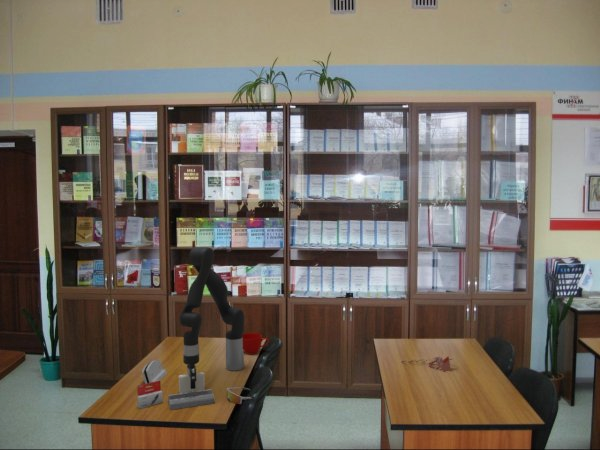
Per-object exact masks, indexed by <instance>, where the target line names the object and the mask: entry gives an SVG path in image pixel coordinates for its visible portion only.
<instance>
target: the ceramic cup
mask: <svg viewBox="0 0 600 450" xmlns="http://www.w3.org/2000/svg"><path fill="white" fill-rule="evenodd" d="M264 340H266V341H267V342H266V343H265V344H263V345H262V342H263V341H264ZM268 344H269V338H267V337H263V335H262V334H260V333H258V332H247V333H243V351H244V353H246V354H248V355H254V354H256V353H258V352H259V350H261V349H260V348H262V347H266V346H267V345H268Z"/></svg>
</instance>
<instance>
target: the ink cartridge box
mask: <svg viewBox="0 0 600 450" xmlns="http://www.w3.org/2000/svg"><path fill="white" fill-rule="evenodd" d="M149 385H150V386H149ZM161 385H162V384H161V380H160V381H156V382H152V383H148V384H145V383H144V384H140V385H137V387H136V389H137V390H136V391H137V392H136V393H137V395H136V396H137V397H136V398H137V400H136V401H137V402H136V403H137V404H136V406H137V408H138V409H143V408H145V407H151V406H154V405H157V404H161V403H164V402H163V401H164V398H163V397H164V396H163V391H162V388H161V387H162V386H161ZM147 386H148V387H147Z"/></svg>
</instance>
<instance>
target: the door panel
mask: <svg viewBox="0 0 600 450" xmlns="http://www.w3.org/2000/svg"><path fill="white" fill-rule="evenodd" d="M190 375H191V374H190ZM205 377H206V376H205V372H203V371H201V372H196V381H195V389H191V384H190V377H189V374H188V373H186V374H180V375H178V391H179V392H178V394H179V393H186V392H192V391H199V390H206V387H205V386H206V385H205V382H206V380H205ZM192 379H194V377H192Z"/></svg>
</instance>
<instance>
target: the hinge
mask: <svg viewBox="0 0 600 450" xmlns="http://www.w3.org/2000/svg"><path fill="white" fill-rule="evenodd" d="M167 374H168V372H167V370H166V369H165V368H163V365H162V362H161V361H160V360H159V359H155V360H152V361H149V362H148V363H146V364H145V365H144V366H143V367H142V371H141V375H142V378H143V381H144V384H148V383H152V382H156V381H160V382H161V381H162V379H163V378H164V377H165V376H166V375H167Z"/></svg>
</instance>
